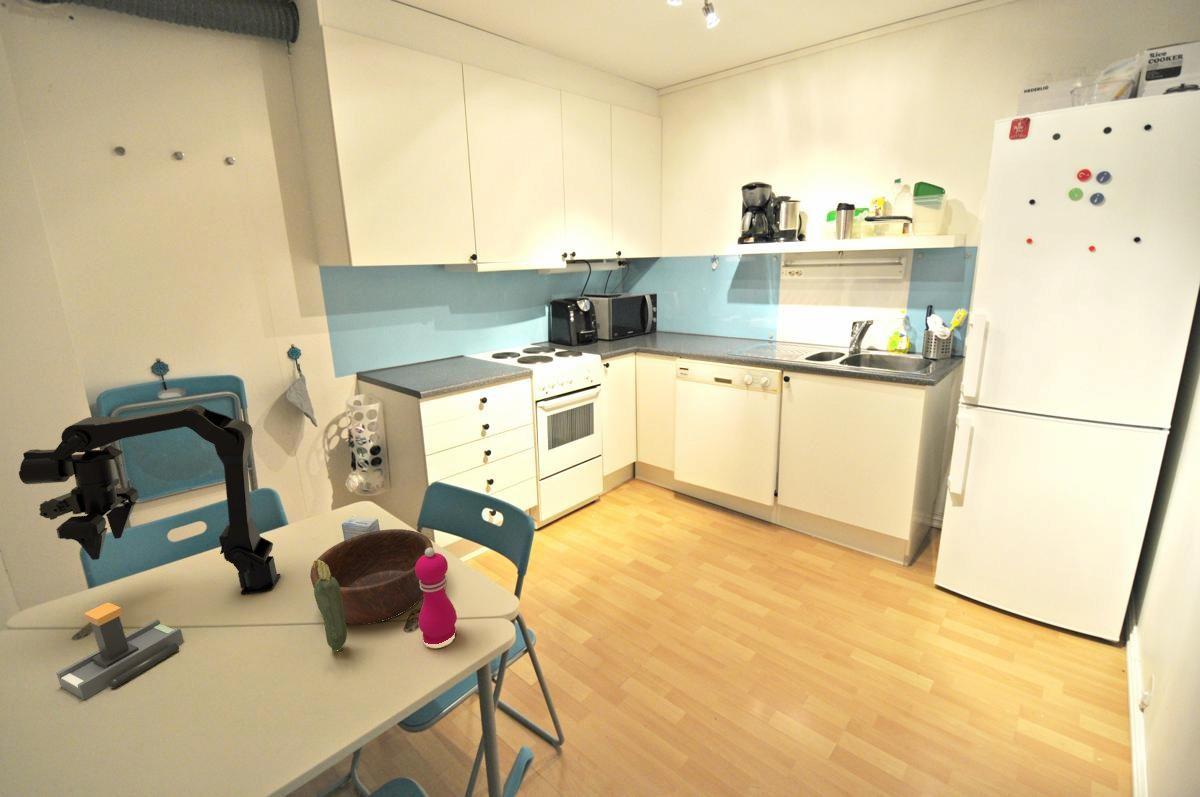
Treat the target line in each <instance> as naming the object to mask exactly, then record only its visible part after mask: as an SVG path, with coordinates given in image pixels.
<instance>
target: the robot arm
mask: <svg viewBox="0 0 1200 797" xmlns="http://www.w3.org/2000/svg"><path fill="white" fill-rule="evenodd" d="M182 428H188V429H190V430H192V431H193V432H194V433H196V435H198V436H199V437H201V438H202V439H203V440H205V441H207V442H208V443H211V444H213V446H214V448H215V452H216V455H217V458H219V460H220V462H221V463H222V465H223V468H224V482H225V491H226V492H225V494H226V503H227V516H228V524H227V525H226V526H225V527H224V529H223V531H222V532H221V534H220V535H219V544H220V546H221V547H220V548H221V549H220V552H219V554H220V555H223V557H224V560H225V561H226V562H229V563H230V564H232V565H233V566H234V568H235V569H236V570H237V575H238V576H237V577H238V580H239V581H238V582H239V585H240V589H242V590H241V591H240V595H248V594H249V595H251V594H255V593H263V592H269V591H272V590H273V589H274V587H275V585H276V584H277V582H278V581H279V579H280V577H281V573H277V567H276V563H275V556H274V555H271V556H270V554H271V553H272V550H273V546H274V543H273V542H272V541H270V540H268V539H266V538H264V537H263V536H261V534H260V531H259V528H258V526H257V524H256V523H255V521H254V519H253V517H252V506H251V504H252V503H251V492H250V478H249V468H248V467H249V464H248V459H249V454H250V451H251V447H252V440H253V428H252V426H251V424H249V423H248V422H247V421H244V420H242V419H234V418H232V417H231V416H228V415H227V414H223V413H222V412H221V413H219V412H216V411H214V410H210V409H208V408H207V407H204V406H203V405H200V404H195V403H194V404H190V405H187V406H183V407H179V408H178V407H177V408H172V409H166V410H160V411H155V412H150V413H149V412H148V413H144V414H138V415H137V414H136V415H133V416H125V417H124V416H123V417H121V416H120V417H117V416H89V417H86V418H83V419H81V420H79V421H77V422H74V423H72V424H70V425H69V426H67V427H65V429H64V430H63V431H62V432H61V433H62V434H61V442H60V443H59V444H58V446H57V447H56V448H55V449H37V448H36V449H29V450H27V451H24V452H23V454H22V455H23V460H22V461H21V463H20V467H19V471H18V476H19V479H20V481H21V482H22V483H23V484H24V485H39V484H42V485H43V484H52V483H53V484H54V483H56V484H57V483H58V484H59V483H65V482H67V481H68V480H69V479H70V477H73V476H74V479H75V480H74V481H75V485H76V486H75V487H74V488H71V490H70V492H68V493H64V494H62V495H58V496H56V497H55V498H51V499H49V500H45V501H43V502H41V503H40V504H39V516H40V517H43V518H45V519H49V520H52V521H53V520H56V519H58V517H60V516H64V515H66V514H69V513H71V512H72V515H76V516H71V517H69V518H67V520H65V521H64V522H63V523H61V524H60V525H59V526H58V527H57V528H56V534H57V538H58V539H59V540H63V539H65V540H74V541H76V542H78V544H79V545H80V546H81V547H82V548H83V550H84V551H85V553H86V554H87V555H88V556H89V557H90V559H91V560H93V561H97V560H100V559H101V556H102V552H103V547H104V544H105V539H106V535H107V532H108V531H107V530H108V527H106V525H107V521H108V524H109V527H110V530H111V533H112V536H113V538H114V539H116V540H117V539H121V538H122V537H123V534H124V532H125V530H126V527H127V524H128V521H129V520H130V516H131V514H132V512H133V510H134V508H135V505H136V504H137V501H138V499H140V497H139V491H138V490H137V489H136V488H134V487H132V486H131V487H129V486H127V487H117V488H116V486H118V485H119V484H120V478H114V472H113V465H112V460H116V459H117V458H118V457H120V456H122V455H123V454H124V452H123V450H120V449H118V448H116V447H114V445H113V444H112V445H111V443H115V442H117V441H120V440H123V439H126V438H132V437H137V436H143V435H148V434H154V433H155V434H156V433H161V432H166V431H171V430H175V429H177V430H178V429H182ZM109 444H110V445H109ZM107 445H108V446H107ZM104 446H105V447H104ZM101 447H104V448H103V449H99V448H101ZM75 453H77V454H75ZM79 453H80V454H79ZM82 513H84V515H81V514H82ZM77 515H78V516H77ZM105 516H106V517H105ZM106 518H107V520H106Z"/></svg>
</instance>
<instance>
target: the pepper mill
mask: <svg viewBox="0 0 1200 797" xmlns="http://www.w3.org/2000/svg"><path fill="white" fill-rule="evenodd" d="M448 569H449V564H448V561H447V558H446V557H445V556H444V555H443V554H442V553H439V552H435V550H434V547H433V548H427V549H426V550H425V555H423V556H422V557H420V558H419V560H418V561H417V563H416V565H415V574H416V576H417V578H418V579H419V580H420V581H419V583H420V589H421V590H423V594H424V595H423V600H422V602H423V603H422V606H421V608H420V612H419V615H418V629H419V630H420V631H421V632H422V641H423V640H424V642H425V643H428V644H439V643H442V642H444V641H446V640H448V639H449V638H451V637H452V636H453V635H454V633H455V630H456V625H455V624H456V622H457V621H458V620H457V619H458V616H457V611H456V609H455V607H454V604H453V603H452V601H451V600H450V599H449V596H448V594H447V592H446V585H447V583H448V580H447V575H446V574H447V572H448ZM456 631H457V630H456ZM424 642H423V643H424Z"/></svg>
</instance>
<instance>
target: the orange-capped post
mask: <svg viewBox="0 0 1200 797" xmlns="http://www.w3.org/2000/svg"><path fill="white" fill-rule="evenodd" d="M83 615H84V619H85V620H86V621H87V622H89V623H90V624H91V629H92V631H93V635H94V638H95V641H96V644H97V647H98V650H99V651H100V654H98V655H96V656H94V657H92V661H93V662H94V663H96V664H98V665H100V666H102V667H104V668H108V667H109V666H111V665H113V664H115V663H117V662H118V661H120V660H122V659H124V658H125V657H127V656H129V655H131V654H132V653H134V652H136V651H138V650H139V648H138V647H136V646H134V645H132V644H129V643H127V641H126V637H125V636H126V635H125V630H124V627H123V624H122V622H121V617H120V616H122V615H124V614H123V611H122V607H121V606H118V605H115V604H113V603H111V602H107V601H106V603H103V604H101V605H99V606H97V607H94V608H92V609H89V610H88V611H86V612H84V613H83Z"/></svg>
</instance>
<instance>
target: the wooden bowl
mask: <svg viewBox="0 0 1200 797" xmlns="http://www.w3.org/2000/svg"><path fill="white" fill-rule="evenodd" d="M427 548H433V549H434V545H433V542H432V541H431V539H430V538H429V537H428V536H426V535H425V534H423V533H421V532H418V531H415V530H411V529H399V528H396V529H395V528H394V529H393V528H392V529H390V528H389V529H382V530H381V529H380V531H374V532H369V533H365V534H362V535H358V536H355V537H352V538H350V539H347V540H345V541H344V540H343V541H341V542H339V543H337V544H334V545H333V546H331V547H330V548H329V549H327V550H325V551H324V552H323V553H322V554H320V556H318V557H317V559H316V560H321V561H323V562H324V563H326V564H327V565H328V567H329V570H330V573H331V575H330V576H331V577H334V578H335V579H336V580H337V582H338V583H339V586H340V590H341V596H342V602H343V609H344V617H345V622H346V624H351V625H369V624H368V623H371V624H375V623H374V622H376V623H380V622H379V621H381V622H383V621H382V620H384V621H386V619H388V618H390V619H392V618H391V617H393V618H395V617H397V616H396V615H398V614H400V613H402V612H403V613H405V612H407V611H408V610H410V609H411V608H413V607H414V606H413V605H414V604H415V603H416V604H417V603H418V602H419V601H421V599H422V598H423V597H424V594H423V590H421V589H420V583H419V581H420V580H419V579H418V578H417V576H416V574H415V565H416V563H417V561H418V560H419V558H420V557H422V556H423V555H425V550H426V549H427ZM313 567H314V566H313V565H312V566H311V569H310V581H311V583H312V586H313V588H314V587H315V584H316V582H317V581H318V580H319V579H320V577H319V574H318V565H316V566H315V568H313ZM416 604H415V605H416ZM410 607H411V608H410ZM409 608H410V609H409ZM406 610H407V611H406ZM404 611H405V612H404ZM403 613H402V614H403ZM400 615H401V614H400ZM394 616H395V617H394ZM398 616H399V615H398ZM388 620H389V619H388Z"/></svg>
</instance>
